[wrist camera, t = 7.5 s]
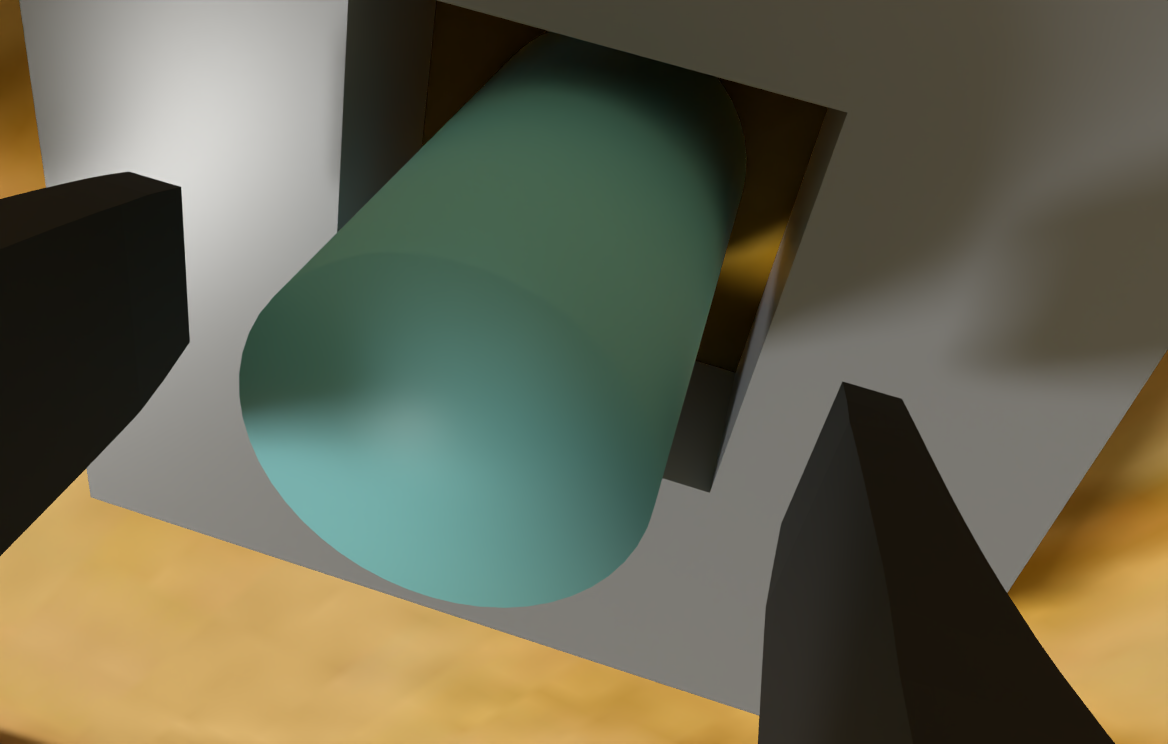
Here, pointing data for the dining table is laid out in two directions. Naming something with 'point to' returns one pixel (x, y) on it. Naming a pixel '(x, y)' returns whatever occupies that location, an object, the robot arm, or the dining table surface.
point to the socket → (789, 302)
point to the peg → (506, 331)
